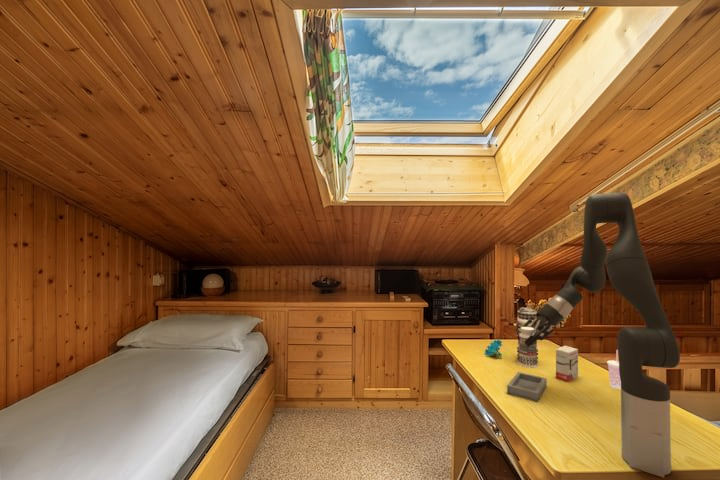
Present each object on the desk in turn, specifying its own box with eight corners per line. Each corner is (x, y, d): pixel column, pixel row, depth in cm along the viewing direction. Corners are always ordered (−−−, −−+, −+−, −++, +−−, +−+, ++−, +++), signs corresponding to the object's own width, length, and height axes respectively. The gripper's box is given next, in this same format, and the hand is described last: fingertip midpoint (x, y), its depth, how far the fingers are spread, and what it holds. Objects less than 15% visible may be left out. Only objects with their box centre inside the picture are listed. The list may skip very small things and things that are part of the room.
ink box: (568, 382, 127) (568, 352, 128) (555, 378, 132) (555, 348, 132) (578, 377, 132) (578, 348, 132) (565, 373, 136) (565, 345, 136)
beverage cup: (623, 384, 125) (623, 348, 125) (631, 391, 119) (630, 353, 120) (604, 382, 127) (604, 346, 127) (610, 389, 122) (610, 351, 122)
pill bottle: (531, 358, 117) (531, 331, 117) (516, 354, 122) (515, 327, 122) (539, 355, 121) (539, 328, 121) (524, 351, 125) (523, 325, 125)
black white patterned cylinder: (527, 359, 153) (527, 305, 154) (544, 366, 144) (543, 309, 145) (511, 361, 150) (511, 307, 151) (527, 368, 142) (527, 311, 142)
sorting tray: (538, 402, 112) (538, 393, 112) (507, 393, 118) (507, 385, 118) (546, 386, 124) (546, 378, 124) (518, 379, 130) (518, 371, 130)
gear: (482, 348, 165) (497, 335, 162) (491, 356, 164) (506, 344, 162) (486, 358, 154) (502, 345, 152) (495, 367, 154) (511, 354, 151)
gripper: (538, 299, 128) (507, 329, 129) (558, 306, 114) (523, 340, 114) (552, 313, 128) (521, 343, 128) (574, 322, 113) (539, 356, 114)
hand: (522, 342), depth 121 cm, fingers closed on pill bottle, 5 cm apart
